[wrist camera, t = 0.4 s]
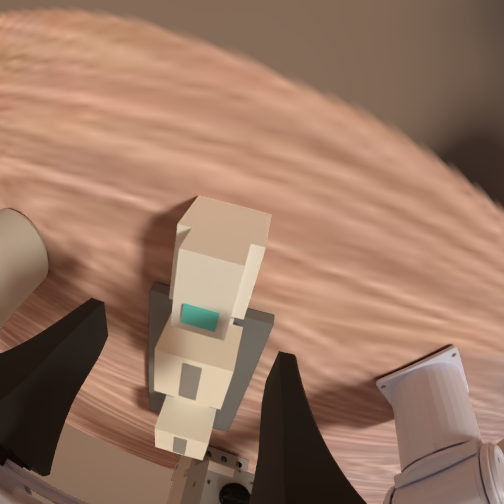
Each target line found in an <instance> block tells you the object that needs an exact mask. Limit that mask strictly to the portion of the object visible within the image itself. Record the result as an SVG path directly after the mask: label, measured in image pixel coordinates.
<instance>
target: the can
mask: <svg viewBox="0 0 504 504" xmlns="http://www.w3.org/2000/svg"><path fill="white" fill-rule="evenodd" d="M48 268H49V265H48V256H47V248H46V245H45V242H44V239H43V237H42V236H41V234H40V232H39V230H38V229H37V227H36V226H35V225H34V224H33V223H32V221H30V220H29V219H28V218H27V217H25V216H24V215H22V214H20V213H18V212H16V211H14V210H11V209H1V210H0V329H1V328H2V327H3V326H4V325H5V323H6V322H7V321H8V320H9V319H10V317H11V316H12V315H13V314H14V313H15V312H16V310H17V309H18V308H19V307H20V306H21V305H22V304H23V302H24V301H25V300H26V299H27V298H28V297H29V296H30V295H31V294H32V292H33V291H34V290H35V289H36V288H37V287H38V286H39V285H40V284H41V283H42V282H43V280H44V279H45V278H46V277H47V273H48Z"/></svg>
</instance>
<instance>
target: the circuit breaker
mask: <svg viewBox="0 0 504 504" xmlns="http://www.w3.org/2000/svg"><path fill="white" fill-rule="evenodd" d="M207 451H208V452H207ZM222 456H223V457H222ZM178 458H180V460H179V462H178V463H176V465H175V468H174V472H173V475H172V479H171V481H173V482H172V486H171V489H170V493H169V497H168V500H167V504H249V500H250V496H251V491H252V486H253V482H254V477H255V474H253V473H249V472H247V469H248V463H249V460H247V459H244V458H241V457H238V456H235V455H232V454H229V453H227V452H224V451H221V450H218V449H216V448H213V447H210V446H207V449H206V452H205V455H204V458H203V460H199V459H195V458H192V457H188V456H184V455H178ZM177 466H178V468H177Z"/></svg>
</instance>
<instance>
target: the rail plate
mask: <svg viewBox="0 0 504 504" xmlns="http://www.w3.org/2000/svg"><path fill="white" fill-rule="evenodd" d="M169 294H170V286H167V285H164V284H160V283H157V282H155V283H154V285H153V286H152V288H151V290H150V308H149V405H150V410H153V411H156V412H159V413H160V415H159V417H158V420H157V423H156V426H155V447H158V448H161V449H164V450H167V451H170V452H174V453H177V454H181V455H184V456H188V457H192V458H195V459H199V460H203V458H204V455H205V452H206V449H207V446H208V444H209V439H210V435H211V431H212V428H215V429H219V430H223V431H227V432H228V430H229V428H230V426H231V424H232V421H233V419H234V417H235V415H236V412H237V410H238V408H239V405H240V403H241V401H242V399H243V396H244V394H245V392H246V389H247V387H248V385H249V382H250V380H251V378H252V375H253V373H254V371H255V368H256V366H257V363H258V361H259V359H260V356H261V354H262V351H263V349H264V347H265V344H266V342H267V339H268V337H269V334H270V332H271V329H272V327H273V324H274V315H273V314H269V313H265V312H261V311H257V310H253V309H249V308H247V310H246V314H245V317H244V320H243V319H239V318H235V317H232V316H231V319H230V323H229V326H228V330H227V334H226V337H225V341H222V340H219V339H215V338H211V337H208V336H204V335H201V334H197V333H194V332H190V331H187V330H184V329H180V328H177V327H174V326H171V315H172V305H173V300H172V299H169Z"/></svg>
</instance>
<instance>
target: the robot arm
mask: <svg viewBox="0 0 504 504" xmlns="http://www.w3.org/2000/svg"><path fill="white" fill-rule="evenodd" d="M107 337H108V330H107V323H106V315H105V306H104V302H102V301H99V300H96V299H93V298H91V299H89V300H88V301H86V302H85V303H83V304H82V305H80V306H79V307H78V308H76V309H75V310H73V311H72V312H71V313H69V314H68V315H66V316H65V317H64V318H62V319H61V320H59V321H58V322H56V323H55V324H53V325H52V326H50V327H49V328H47V329H46V330H44V331H42V332H41V333H39V334H38V335H36V336H35V337H33V338H31V339H29V340H28V341H26V342H24V343H22V344H20V345H18V346H16V347H14V348H12V349H10V350H7V351H5V352H3V353H0V504H46V503H44V502H42V501H40V500H39V499H37V498H36V497H34V496H32V494H31V491H30V489H31V490H32V491H34V492H36V493H37V494H39V495H41V496H43V497H44V498H46V499H48V500H50V501H52V502H54V503H55V504H89V503H86V502H84V501H82V500H80V499H78V498H75V497H73V496H71V495H69V494H67V493H65V492H63V491H61V490H60V489H57V488H56V487H54V486H52V485H50V484H48V483H47V482H45V481H43V480H41V479H39V478H38V477H36V476H34V475H33V474H30V473H29V472H28V471H26V470H24V469H23V467H25V468H26V469H28V470H29V471H30V470H33V471H34V472H36V473H38V474H39V475H41V476H47V475H49V474H50V470H51V466H52V462H53V458H54V454H55V450H56V447H57V443H58V440H59V437H60V433H61V431H62V428H63V425H64V423H65V420H66V417H67V415H68V412H69V410H70V408H71V405H72V403H73V401H74V399H75V397H76V395H77V393H78V391H79V390H80V388H81V386H82V384H83V383H84V381H85V379H86V378H87V376H88V374H89V373H90V371H91V369H92V368H93V366H94V364H95V362H96V361H97V359H98V357H99V356H100V353H101V351H102V349H103V347H104V344H105V342H106V340H107ZM376 385H377V387H378V388H379V390H380V391H381V393H382V394H383V395H384V397H385V398H386V399H387V401H388V402H389V403H390V405H391V406H392V408H393V414H394V420H395V427H396V433H397V440H398V448H399V456H400V464H401V473H400V474H398V475H396V476H394V481H395V486H393V487H391V488H390V489H389V491H388V492H387V494H386V496H385V499H384V502H383V504H504V455H503V453H502V451H501V449H500V448H499V447H498V446H497V445H494V444H492V443H490V442H488V443H486V444H483V443H482V440H481V436H480V432H479V429H478V425H477V422H476V418H475V415H474V412H473V409H472V405H471V402H470V399H469V396H468V392H469V390H468V385H467V381H466V377H465V373H464V370H463V366H462V362H461V359H460V355H459V352H458V349H457V346H456V345H452V346H450V347H448V348H446V349H444V350H442V351H440V352H438V353H436V354H434V355H432V356H430V357H428V358H426V359H423V360H421V361H419V362H417V363H415V364H413V365H410V366H408V367H406V368H404V369H401V370H399V371H397V372H394V373H392V374H390V375H387V376H385V377H383V378H380V379H378V380H377V381H376ZM249 504H367V503H366V502H365V501H364V500H363V499H362V497H361V496H360V495H359V494H358V493H357V491H356V490H355V489H354V488H353V486H352V485H351V484H350V482H349V481H348V480H347V478H346V477H345V475H344V474H343V472H342V471H341V469H340V468H339V466H338V465H337V463H336V461H335V460H334V458H333V457H332V455H331V453H330V451H329V449H328V447H327V446H326V444H325V442H324V440H323V438H322V436H321V433H320V431H319V429H318V427H317V424H316V422H315V419H314V417H313V415H312V412H311V409H310V406H309V403H308V400H307V397H306V394H305V391H304V388H303V385H302V381H301V377H300V373H299V369H298V365H297V360H296V356H295V355H294V354H289V353H284V352H280V351H279V353H278V355H277V357H276V360H275V362H274V364H273V366H272V369H271V371H270V373H269V375H268V378H267V380H266V384H265V389H264V395H263V400H262V409H261V424H260V439H259V453H258V461H257V466H256V471H255V477H254V482H253V486H252V491H251V496H250V500H249Z"/></svg>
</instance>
